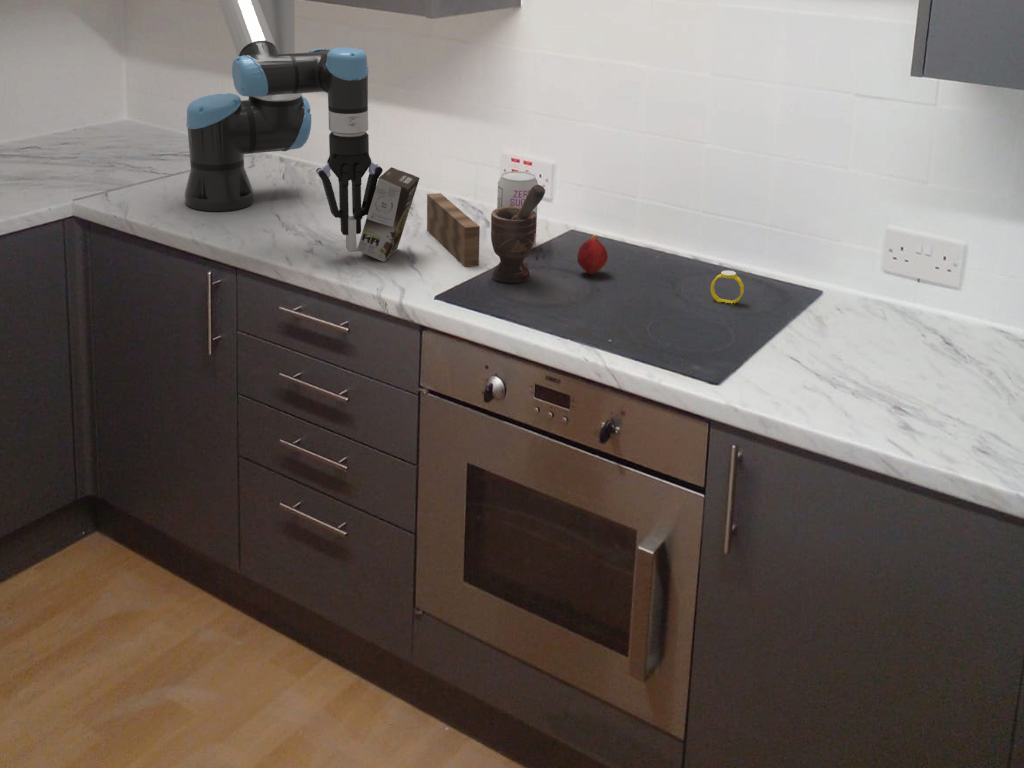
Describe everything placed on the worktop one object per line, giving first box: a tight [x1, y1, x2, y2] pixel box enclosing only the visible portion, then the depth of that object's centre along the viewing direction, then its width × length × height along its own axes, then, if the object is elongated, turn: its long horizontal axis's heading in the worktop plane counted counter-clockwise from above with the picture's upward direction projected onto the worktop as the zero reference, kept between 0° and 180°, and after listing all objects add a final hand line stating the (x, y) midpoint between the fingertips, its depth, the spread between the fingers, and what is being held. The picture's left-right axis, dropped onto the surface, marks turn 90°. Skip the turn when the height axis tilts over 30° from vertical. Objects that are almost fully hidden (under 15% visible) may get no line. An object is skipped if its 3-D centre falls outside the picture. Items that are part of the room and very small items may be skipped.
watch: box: [710, 270, 745, 305], centre depth 228 cm, size 6×3×6 cm, turn 69°
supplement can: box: [496, 170, 539, 249], centre depth 251 cm, size 8×8×15 cm
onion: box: [577, 234, 608, 275], centre depth 239 cm, size 6×6×8 cm
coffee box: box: [356, 166, 420, 263], centre depth 243 cm, size 9×6×16 cm
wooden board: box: [426, 192, 481, 267], centre depth 250 cm, size 24×3×8 cm, turn 22°
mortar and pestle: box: [490, 184, 546, 284], centre depth 232 cm, size 12×9×20 cm
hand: (351, 249), depth 244 cm, fingers closed
